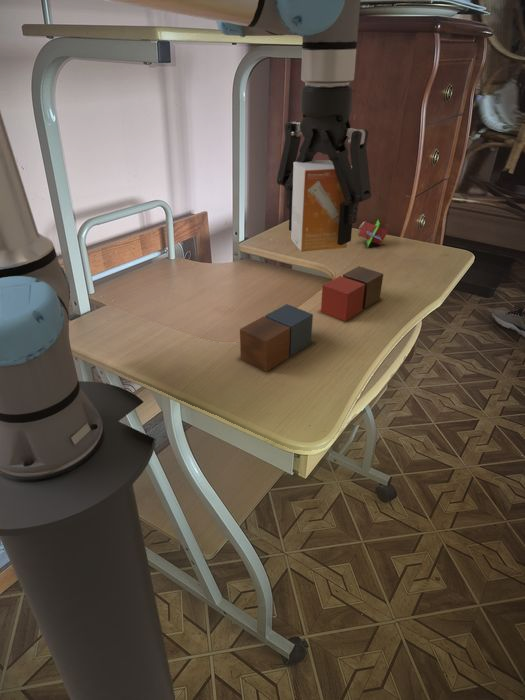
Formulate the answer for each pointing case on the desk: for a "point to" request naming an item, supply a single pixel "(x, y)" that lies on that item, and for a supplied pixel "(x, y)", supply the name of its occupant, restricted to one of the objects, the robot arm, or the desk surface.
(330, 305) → the cube
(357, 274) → the cube
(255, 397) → the desk surface
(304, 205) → the small box
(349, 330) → the desk surface
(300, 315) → the cube
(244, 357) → the cube
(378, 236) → the geometric puzzle
